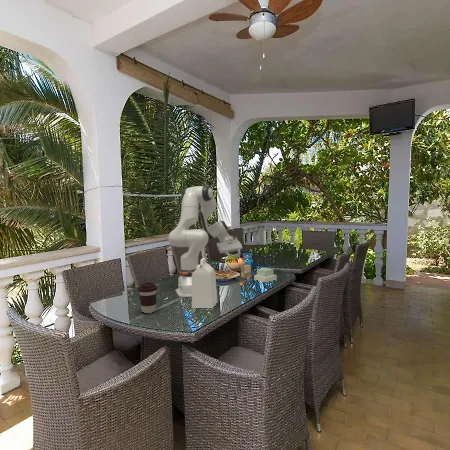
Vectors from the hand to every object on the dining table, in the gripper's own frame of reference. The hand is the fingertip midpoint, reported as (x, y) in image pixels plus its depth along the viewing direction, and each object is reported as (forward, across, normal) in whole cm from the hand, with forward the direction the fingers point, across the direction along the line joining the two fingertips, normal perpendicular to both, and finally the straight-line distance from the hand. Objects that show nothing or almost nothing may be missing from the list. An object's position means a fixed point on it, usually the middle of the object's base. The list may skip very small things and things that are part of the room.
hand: (234, 255), depth 263 cm
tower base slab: (+30, +5, -8) cm, 31 cm away
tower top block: (+27, +5, -11) cm, 29 cm away
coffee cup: (+33, -85, -12) cm, 92 cm away
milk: (+41, -57, -20) cm, 74 cm away
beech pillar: (+19, 0, +2) cm, 19 cm away
